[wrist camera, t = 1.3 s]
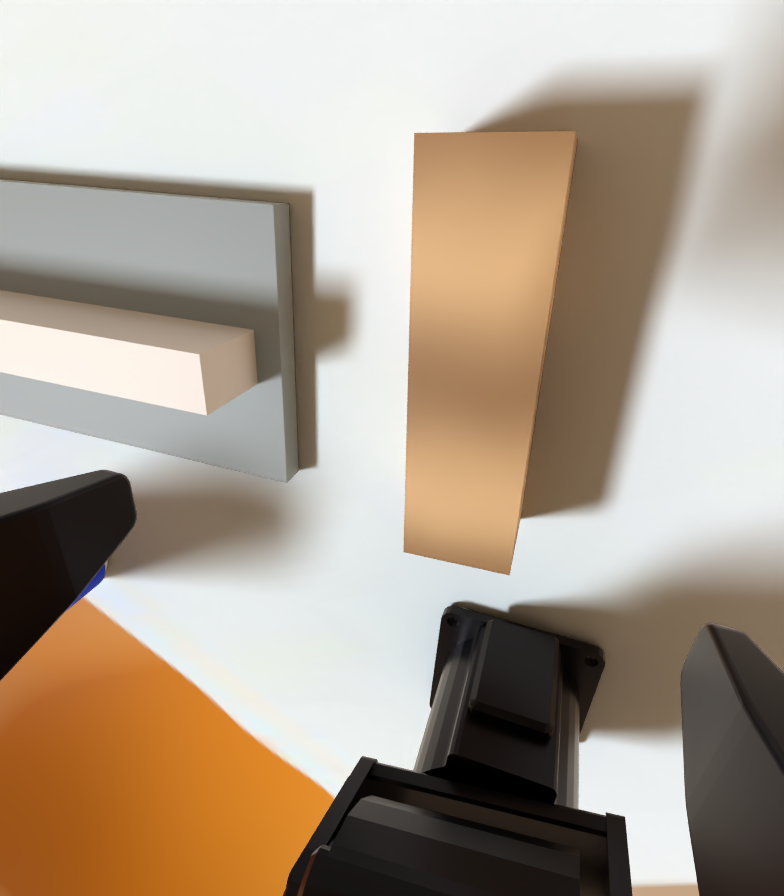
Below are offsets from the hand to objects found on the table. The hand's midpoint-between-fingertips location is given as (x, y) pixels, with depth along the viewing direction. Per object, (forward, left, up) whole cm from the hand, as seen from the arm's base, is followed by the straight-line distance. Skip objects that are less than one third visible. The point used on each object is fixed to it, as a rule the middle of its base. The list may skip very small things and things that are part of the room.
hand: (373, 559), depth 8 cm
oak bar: (0, 0, -11) cm, 11 cm away
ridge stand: (-1, +15, -11) cm, 18 cm away
